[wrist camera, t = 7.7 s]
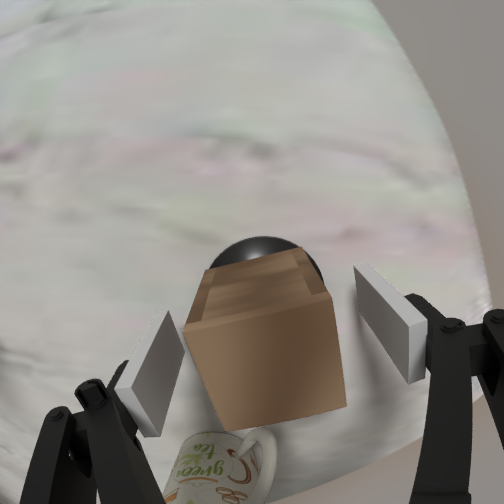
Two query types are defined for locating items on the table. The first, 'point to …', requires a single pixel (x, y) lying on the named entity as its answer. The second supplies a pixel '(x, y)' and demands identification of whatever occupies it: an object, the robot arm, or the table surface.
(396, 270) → the table surface
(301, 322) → the brown shipping carton
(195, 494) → the mug
